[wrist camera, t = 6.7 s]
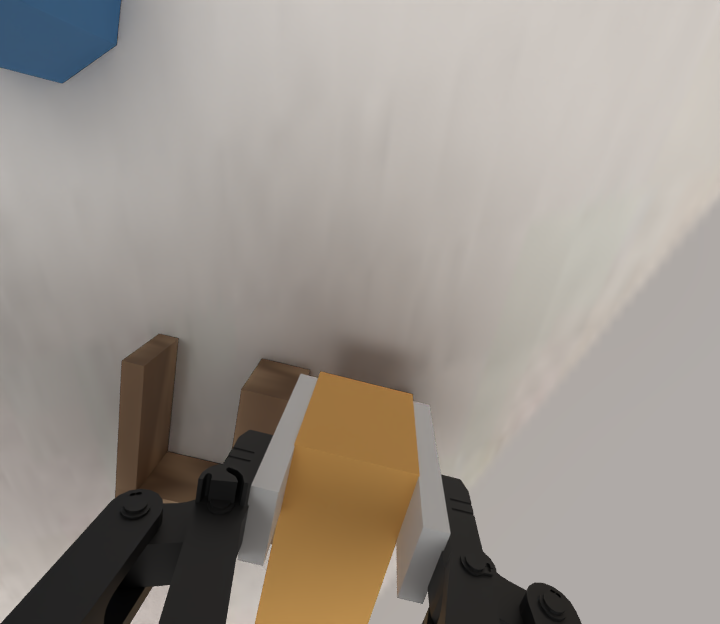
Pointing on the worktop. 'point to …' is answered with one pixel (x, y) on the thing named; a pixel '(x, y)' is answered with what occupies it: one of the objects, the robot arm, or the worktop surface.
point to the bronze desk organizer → (153, 415)
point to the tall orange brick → (341, 504)
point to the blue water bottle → (56, 35)
